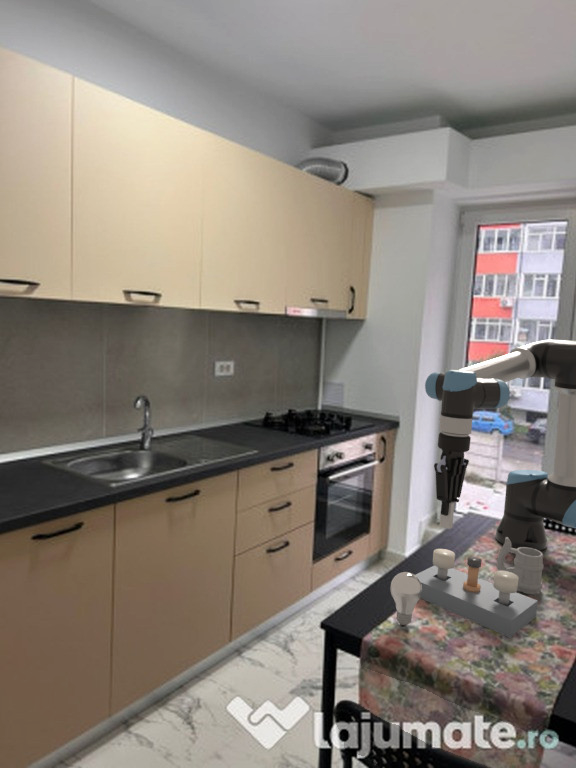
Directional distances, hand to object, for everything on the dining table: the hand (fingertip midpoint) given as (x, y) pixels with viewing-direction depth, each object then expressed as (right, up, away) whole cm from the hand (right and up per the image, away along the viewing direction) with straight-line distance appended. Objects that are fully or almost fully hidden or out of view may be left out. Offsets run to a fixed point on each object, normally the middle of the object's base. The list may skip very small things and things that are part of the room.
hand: (445, 526), depth 141 cm
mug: (+21, -18, +8) cm, 29 cm away
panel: (+5, -18, -4) cm, 19 cm away
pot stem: (+5, -14, -4) cm, 15 cm away
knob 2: (+11, -16, -10) cm, 21 cm away
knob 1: (-1, -14, +2) cm, 14 cm away
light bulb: (-14, -18, -15) cm, 27 cm away
